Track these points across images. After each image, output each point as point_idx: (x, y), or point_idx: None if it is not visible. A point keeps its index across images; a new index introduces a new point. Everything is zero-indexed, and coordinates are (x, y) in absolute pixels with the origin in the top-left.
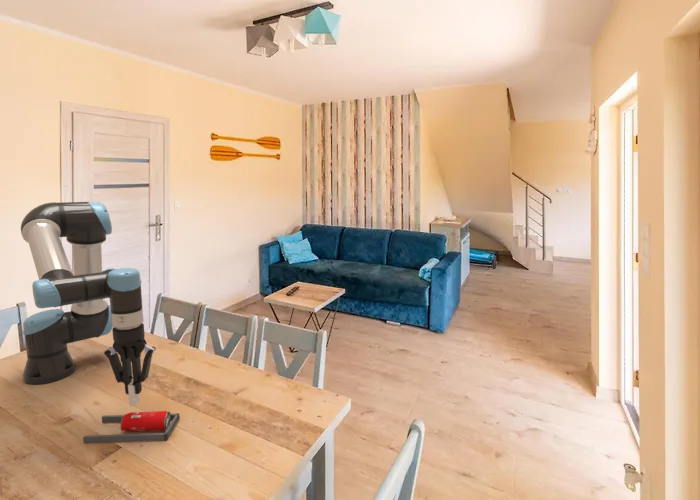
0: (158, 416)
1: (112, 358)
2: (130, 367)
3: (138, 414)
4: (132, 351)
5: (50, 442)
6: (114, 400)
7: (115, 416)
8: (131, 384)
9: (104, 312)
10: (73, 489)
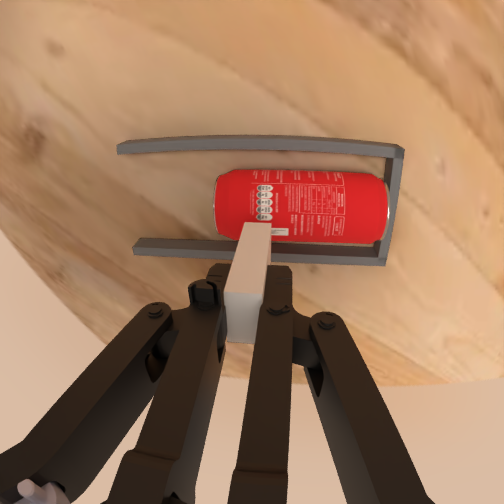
0: (359, 236)
1: (82, 486)
2: (202, 391)
3: (275, 225)
4: None
5: (66, 234)
6: (95, 23)
7: (160, 149)
8: (245, 337)
9: None
10: (225, 369)
